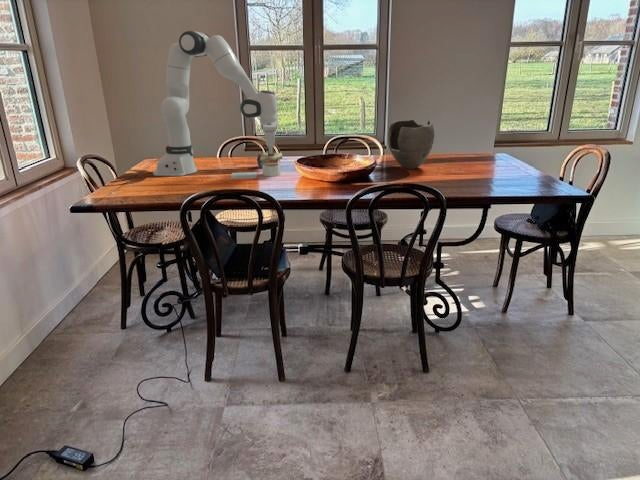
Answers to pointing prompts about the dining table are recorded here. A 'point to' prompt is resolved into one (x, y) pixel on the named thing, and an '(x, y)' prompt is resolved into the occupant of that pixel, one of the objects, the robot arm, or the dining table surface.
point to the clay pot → (410, 142)
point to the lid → (270, 155)
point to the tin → (261, 162)
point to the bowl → (271, 169)
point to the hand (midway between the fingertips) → (270, 152)
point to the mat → (244, 175)
